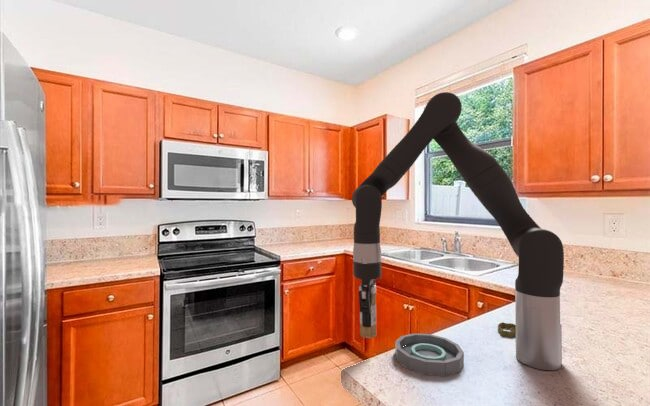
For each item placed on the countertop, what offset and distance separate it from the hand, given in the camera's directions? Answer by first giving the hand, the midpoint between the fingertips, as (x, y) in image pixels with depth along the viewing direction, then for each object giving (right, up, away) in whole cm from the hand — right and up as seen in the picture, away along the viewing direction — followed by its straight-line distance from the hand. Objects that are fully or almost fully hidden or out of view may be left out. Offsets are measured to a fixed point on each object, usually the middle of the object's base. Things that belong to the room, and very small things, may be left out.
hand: (368, 322), depth 83 cm
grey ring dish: (+15, -7, -4) cm, 17 cm away
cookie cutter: (+50, -8, +12) cm, 52 cm away
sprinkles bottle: (0, -4, 0) cm, 4 cm away
